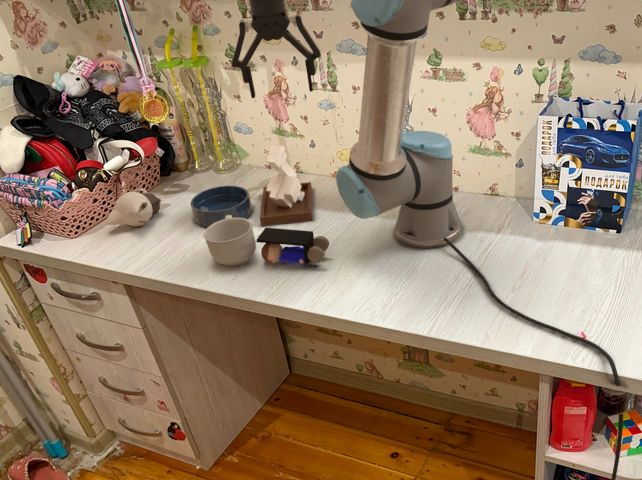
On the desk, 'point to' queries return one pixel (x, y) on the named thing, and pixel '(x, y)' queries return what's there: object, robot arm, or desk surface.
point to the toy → (134, 208)
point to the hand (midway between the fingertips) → (282, 93)
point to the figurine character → (295, 254)
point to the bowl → (220, 204)
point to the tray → (287, 209)
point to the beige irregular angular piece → (283, 179)
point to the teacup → (231, 240)
